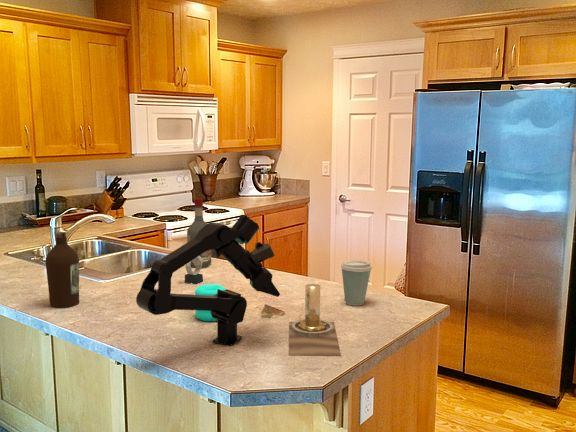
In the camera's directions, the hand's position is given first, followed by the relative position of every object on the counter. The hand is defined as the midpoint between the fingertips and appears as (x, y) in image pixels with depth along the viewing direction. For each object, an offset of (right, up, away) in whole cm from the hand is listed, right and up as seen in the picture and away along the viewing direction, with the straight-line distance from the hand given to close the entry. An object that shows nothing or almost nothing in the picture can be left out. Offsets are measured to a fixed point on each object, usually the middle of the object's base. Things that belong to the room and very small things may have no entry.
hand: (275, 290), depth 160 cm
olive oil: (-73, -9, +29) cm, 79 cm away
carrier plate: (+11, -14, -2) cm, 18 cm away
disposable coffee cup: (+27, -9, +33) cm, 44 cm away
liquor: (-36, 0, +84) cm, 91 cm away
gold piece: (+11, -12, +4) cm, 17 cm away
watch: (-34, -5, +58) cm, 67 cm away
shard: (-3, -11, +21) cm, 24 cm away
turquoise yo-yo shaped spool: (-21, -11, +17) cm, 30 cm away
